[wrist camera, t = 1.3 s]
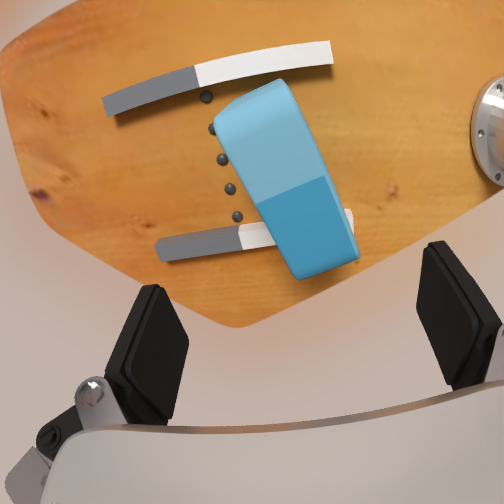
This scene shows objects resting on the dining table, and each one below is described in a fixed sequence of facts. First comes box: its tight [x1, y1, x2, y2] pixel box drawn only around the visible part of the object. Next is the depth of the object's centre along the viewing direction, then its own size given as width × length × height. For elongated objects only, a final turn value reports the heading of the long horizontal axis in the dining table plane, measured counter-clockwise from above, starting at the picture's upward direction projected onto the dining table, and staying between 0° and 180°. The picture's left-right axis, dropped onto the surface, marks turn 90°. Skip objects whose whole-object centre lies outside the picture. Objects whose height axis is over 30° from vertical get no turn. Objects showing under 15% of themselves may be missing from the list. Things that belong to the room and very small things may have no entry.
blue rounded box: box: [214, 79, 360, 280], centre depth 22 cm, size 12×4×12 cm, turn 27°
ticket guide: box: [102, 41, 354, 262], centre depth 27 cm, size 20×18×2 cm
